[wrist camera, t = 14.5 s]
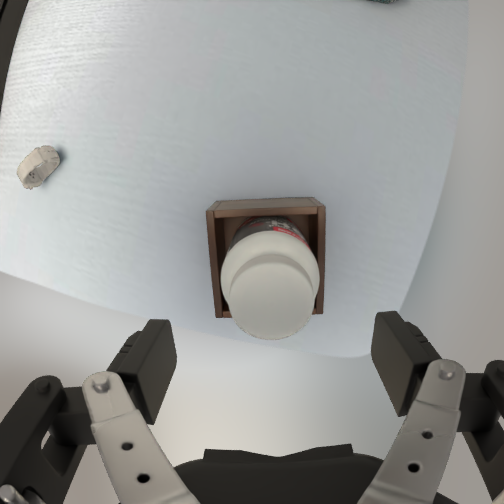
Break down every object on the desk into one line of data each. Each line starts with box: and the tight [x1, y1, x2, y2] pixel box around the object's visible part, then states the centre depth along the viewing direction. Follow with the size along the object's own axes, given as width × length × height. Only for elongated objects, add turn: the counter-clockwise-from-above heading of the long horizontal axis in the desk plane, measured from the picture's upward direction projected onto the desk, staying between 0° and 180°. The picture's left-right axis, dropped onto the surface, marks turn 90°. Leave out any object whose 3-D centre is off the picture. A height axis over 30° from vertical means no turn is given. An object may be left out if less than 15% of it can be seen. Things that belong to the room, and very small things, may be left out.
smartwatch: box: [17, 146, 60, 190], centre depth 21 cm, size 4×2×4 cm, turn 124°
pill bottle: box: [221, 215, 320, 340], centre depth 19 cm, size 5×5×10 cm
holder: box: [206, 197, 326, 318], centre depth 22 cm, size 7×7×4 cm
